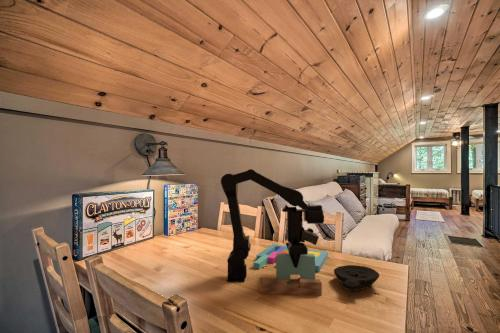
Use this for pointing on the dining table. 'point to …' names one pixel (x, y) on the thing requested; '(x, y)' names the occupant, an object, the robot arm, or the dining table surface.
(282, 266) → the teal plate
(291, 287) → the walnut rail
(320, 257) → the tetris game
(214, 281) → the dining table surface
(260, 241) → the dining table surface
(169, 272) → the dining table surface
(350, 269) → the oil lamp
